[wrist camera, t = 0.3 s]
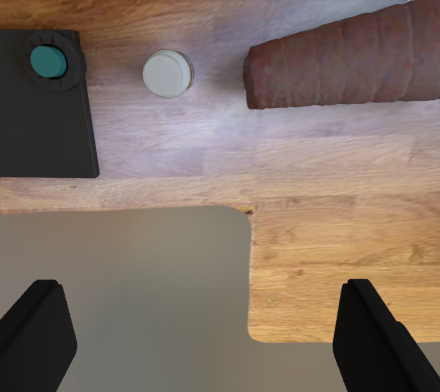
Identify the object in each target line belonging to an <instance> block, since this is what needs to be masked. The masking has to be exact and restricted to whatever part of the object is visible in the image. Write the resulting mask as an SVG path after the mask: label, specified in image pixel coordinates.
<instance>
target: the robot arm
mask: <svg viewBox="0 0 440 392" xmlns="http://www.w3.org/2000/svg"><path fill="white" fill-rule="evenodd" d="M76 351H77V340H76V336H75V332H74V329H73V325H72V321H71V317H70V313H69V309H68V306H67V301H66V298H65V294H64V290H63V287H62V285H61V284H58V282H57V281H56V280H36V281H35V282H33V284H32V285H31V286H30V287H29V288H28V289H27V291H25V292H24V294H23V295H22V296H21V297H20V298H19V299H18V300H17V301H16V303H15V304H14V305H13V306H12V307H11V308H10V309H9V311H8V312H7V313H6V314H5V315H4V316H3V317H2V319H0V392H56V391H57V389H58V387H59V385H60V383H61V381H62V379H63V377H64V375H65V373H66V372H67V370H68V368H69V366H70V364H71V362H72V360H73V358H74V356H75V354H76ZM333 353H334V356H335V359H336V362H337V365H338V367H339V370H340V373H341V375H342V378H343V381H344V383H345V386H346V389H347V391H348V392H440V377H439V375H438V374H437V373H436V371H435V370H434V368H433V367H432V365H431V364H430V362H429V361H428V359H427V358H426V357H425V355H424V354H423V352H422V351H421V349H420V348H419V346H418V345H417V343H416V342H415V340H414V339H413V338H412V336H411V335H410V333H409V332H408V330H407V329H406V327H405V326H404V325H403V324H402V323H401V322H399V321H396V320H395V318H394V317H393V315H392V314H391V312H390V311H389V309H388V308H387V306H386V305H385V303H384V302H383V300H382V299H381V297H380V296H379V294H378V293H377V291H376V290H375V288H374V287H373V285H372V284H371V282H370V281H369V280H368V279H349V280H348V282H347V283H345V284H343V285H342V289H341V295H340V301H339V308H338V314H337V320H336V326H335V332H334V338H333Z"/></svg>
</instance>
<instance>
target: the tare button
mask: <svg viewBox="0 0 440 392" xmlns="http://www.w3.org/2000/svg"><path fill="white" fill-rule="evenodd" d="M31 64H32V67H33V68H34V70H35V71H36V72H37V73H38V74H39V75H41V76H43V77H58V76H61V75H62V74H63V73H64V72H65V70H66V60H65V57H64V55H63V54H62V53H61V52H60V51H59V50H58V49H56V48H54V47H46V46H39V47H37V48H35V49H34V50H33V51H32V53H31Z"/></svg>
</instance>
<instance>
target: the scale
mask: <svg viewBox="0 0 440 392" xmlns="http://www.w3.org/2000/svg"><path fill="white" fill-rule="evenodd" d="M39 46H46V47H54V48H56V49H58V50H59V51H60V52H61V53H62V54H63V55H64V57H65V60H66V70H65V72H64V73H63V74H62V75H61V76H58V77H43V76H41V75H39V74H38V73H37V72H36V71H35V70H34V68H33V67H32V64H31V53H32V51H33V50H34V49H35V48H37V47H39ZM86 70H87V69H86V63H85V56H84V53H83V52H82V50H81V47H80V40H79V33H78V31H73V30H0V177H44V178H96V177H98V176H99V175H100V173H99V166H98V160H97V153H96V146H95V140H94V133H93V126H92V120H91V113H90V106H89V100H88V93H87V86H86V80H85V73H86Z"/></svg>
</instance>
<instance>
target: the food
mask: <svg viewBox="0 0 440 392" xmlns="http://www.w3.org/2000/svg"><path fill="white" fill-rule="evenodd" d="M243 82H244V87H245V90H246V100H247V106H248V108H249V109H262V110H263V109H265V108H281V107H282V108H287V107H289V106H290V107H302V106H311V105H320V106H324V105H336V104H363V103H367V102H375V103H380V102H396V101H397V100H398V101H428V100H436V99H440V0H414V1H410V2H408V3H406V4H403V5H402V4H398V5H394V6H390V7H387V8H384V9H381V10H378V11H376V12H373V13H364V14H360V15H357V16H354V17H350V18H346V19H343V20H341V21H335V22H332V23H328V24H324V25H321V26H319V27H317V28H315V29H312V30H308V31H303V32H298V33H296V34H293V35H290V36H286V37H283V38H281V39H275V40H271V41H267V42H265V43H262V44H260V45H256V46H252V47H251V48H250V50H249V52H248V56H247V57H246V59H245V62H244V65H243Z"/></svg>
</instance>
